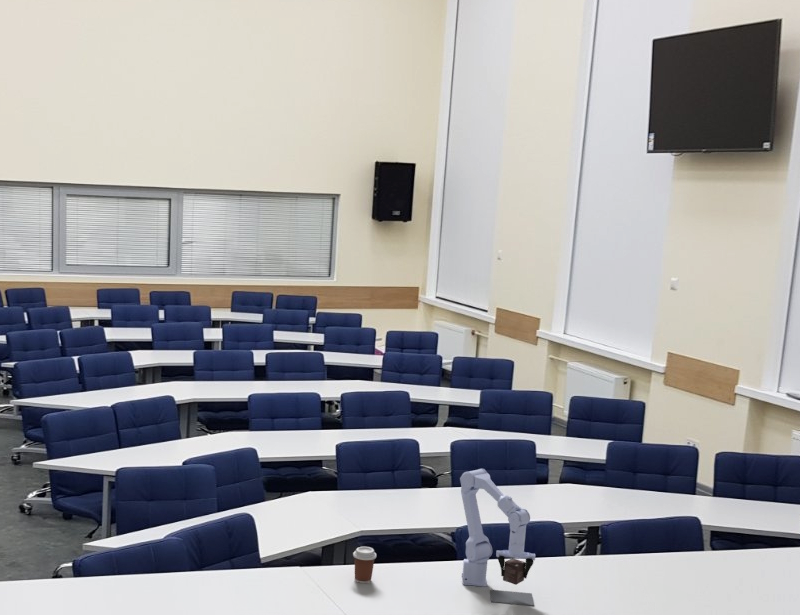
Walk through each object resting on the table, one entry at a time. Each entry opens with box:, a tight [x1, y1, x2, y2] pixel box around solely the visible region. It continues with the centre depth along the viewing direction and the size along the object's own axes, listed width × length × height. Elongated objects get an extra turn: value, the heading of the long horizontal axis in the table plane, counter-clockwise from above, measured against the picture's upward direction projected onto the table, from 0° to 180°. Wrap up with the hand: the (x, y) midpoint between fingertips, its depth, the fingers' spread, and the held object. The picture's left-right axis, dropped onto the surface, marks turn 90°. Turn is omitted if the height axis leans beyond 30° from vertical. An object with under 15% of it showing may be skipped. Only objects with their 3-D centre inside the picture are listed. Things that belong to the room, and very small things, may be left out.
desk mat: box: [489, 589, 535, 607], centre depth 364 cm, size 16×11×1 cm
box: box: [502, 558, 526, 585], centre depth 363 cm, size 6×6×7 cm
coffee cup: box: [352, 546, 377, 584], centre depth 370 cm, size 9×9×12 cm
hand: (513, 576), depth 364 cm, fingers closed on box, 7 cm apart
